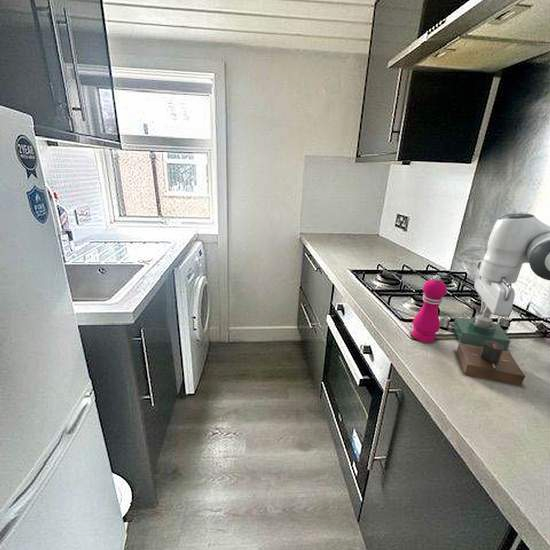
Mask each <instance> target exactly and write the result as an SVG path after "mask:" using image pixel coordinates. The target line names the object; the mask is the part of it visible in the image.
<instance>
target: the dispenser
mask: <svg viewBox="0 0 550 550" xmlns="http://www.w3.org/2000/svg"><path fill="white" fill-rule="evenodd" d="M475 319H476V316H473V317H470V318H464V317H457V316H455V317H454V321H453V324H452V327H453V330H454V332H455V334H456V336H457V339H458V341H459V342H458V343H462V344H467V345H473V346H478V347H483V346H484V343H485V341H487V340H490V341H495V342H497V343H500V344H501V345H502V346H503V347H504V349H503V351H505V352H508V350H509V346H510V344H511V340H510V338H509V337H508V335H507V334H506V333H505V331H504V329H503V328H502V327H501V325H500V324H499V323H495V322H493V321H492V323H491V326H490V327H483V326H480V325H477V324H476V323H475Z"/></svg>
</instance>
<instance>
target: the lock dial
mask: <svg viewBox="0 0 550 550" xmlns="http://www.w3.org/2000/svg"><path fill="white" fill-rule="evenodd" d="M482 347H483V349H482V352H481V357H482V358H483V359H484V360H486V361H489V362H492V363H497V362H499V360H500V357H501V354H502V352H503V351H504V350H503V349H504V347H503V346H502V345H501V344H500V343H497V342H495V341H490V340H487V341H485V343H484V346H482Z"/></svg>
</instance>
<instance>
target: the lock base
mask: <svg viewBox="0 0 550 550" xmlns="http://www.w3.org/2000/svg"><path fill="white" fill-rule="evenodd" d="M482 349H483V346H479V345H474V344H468V343H463V342H458V345H457V348H456V355H457V357H458V360H459V363H460V366H461V368H462V371H463V373H464V375H465V376H470V377H475V378H481V379H485V380H489V381H495V382H499V383H504V384H509V385H513V386H518V387H522V385H523V383H524V380H525V378H526V375H525V374H524V371H522V369H521V367H520V366H519V364H518V363H517V361H516V360H515V358H514V356H513V355H512V353H511V352H510V351H506V350H503V352H502V354H501V357H500V360H499V362H497V363H492V362H489V361H486V360H484V359H483V358H482V357H481V352H482Z"/></svg>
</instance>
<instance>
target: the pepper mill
mask: <svg viewBox="0 0 550 550" xmlns="http://www.w3.org/2000/svg"><path fill="white" fill-rule="evenodd" d="M422 291H423V294H422V300H423V304H422V306H421V308H420V310H419V311H418V312H417V313H416V314H415V316H414V318H413V320H412V326H413V327H414V328H413V329H412V332H411V334H412V337H413V338H414V339H415V340H417V341H419V342H422V343H433V342H435V340H436V336H437V334H436V333H438V332H439V331H440V328H441V321H440V317H439V311H438V310H439V307H440V305H441V304H442V303H443V297H444V296H445V295H446V294H447V291H448V287H447V285H446V284H445V283H444V282H443V281H442V278H441V276H440V275H438V274H436V275H434V276H433V279H429V280H426V281H425V282H424V283H423V286H422Z"/></svg>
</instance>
